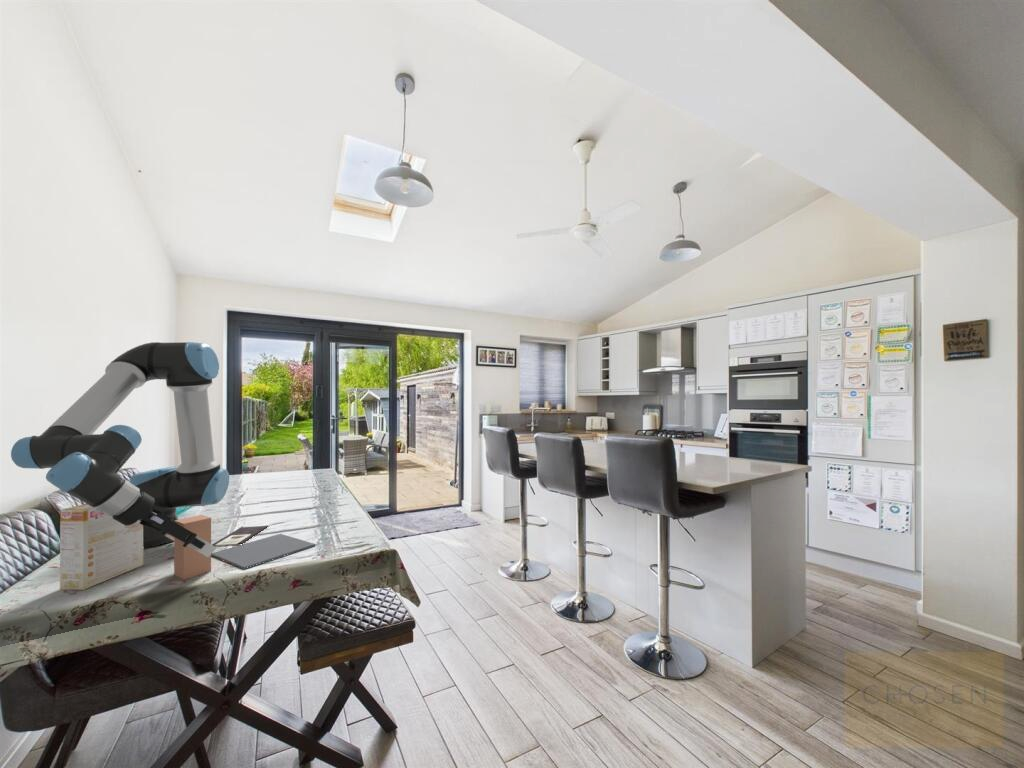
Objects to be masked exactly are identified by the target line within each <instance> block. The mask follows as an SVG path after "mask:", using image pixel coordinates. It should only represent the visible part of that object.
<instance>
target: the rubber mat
mask: <svg viewBox="0 0 1024 768" xmlns="http://www.w3.org/2000/svg"><path fill="white" fill-rule="evenodd" d="M310 547H311V548H314V547H316V543H314V542H310V541H307V540H302V539H299V538H295V537H293V536H290V535H286V534H283V533H279V534H278V533H277V534H275V535H271V536H268V537H264V538H261V539H257V540H254V541H250V542H249V541H248V542H245V543H244V544H242V545H234V546H233V547H230V548H225V549H222V550H219V551H215V552H214V551H213V553H212V554H211V557H213V558H217V560H220V559H221V561H223V560H224V561H223V562H225V561H226V563H228V564H230V563H231V565H232V564H233V566H235V565H236V566H235V567H237V566H239V567H238V568H240V567H242V568H247V567H250V566H253V565H256V564H259V563H263V562H266V561H269V560H272V559H274V558H278V557H281V556H284V555H287V554H290V555H292V554H291V553H293V554H296V553H298V551H299V552H301V550H302V551H305V550H308V549H311V548H310ZM304 549H305V550H304ZM295 552H296V553H295ZM287 556H288V555H287ZM284 557H285V556H284ZM281 558H282V557H281ZM278 559H279V558H278ZM272 561H273V560H272ZM269 562H270V561H269ZM266 563H267V562H266ZM263 564H264V563H263ZM242 568H241V569H242Z"/></svg>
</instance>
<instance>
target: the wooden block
mask: <svg viewBox="0 0 1024 768" xmlns="http://www.w3.org/2000/svg"><path fill="white" fill-rule="evenodd" d="M174 522H175V523H177V524H178V525H180V526H182V527H184V528H185V529H187V530H189V531H191V532H193V533H196V534H197V536H199V537H200V538H202V539H204V540H205V541H207V542H208V543H210V544H212V517H210V516H207V515H205V514H204V515H203V514H199V515H198V514H197V515H195V516H189V517H184V518H180V519H179V518H178V520H174ZM187 538H188V537H187ZM187 538H186V539H187ZM173 542H174V551H173V552H174V553H173V554H174V556H173V557H174V559H173V560H174V562H173V563H174V565H173V566H174V567H173V569H174V571H173V572H174V573H173V575H174V576H176V577H177V578H179V579H181V580H188V579H190V578H194V577H197V576H200V575H203V574H206V573H205V572H207V573H209V572H208V571H210V572H212V556H211V555H210V556H209V557H206V556H204V555H203V554H201V553H199V552H198V551H196V550H194V549H192V548H191V547H189V546H186V547H184V546H183V545H184V542H182V541H180V540H178V539H177V538H175V537H174V541H173ZM202 573H203V574H202ZM199 574H200V575H199ZM196 575H197V576H196Z"/></svg>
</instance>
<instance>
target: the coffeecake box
mask: <svg viewBox="0 0 1024 768" xmlns="http://www.w3.org/2000/svg"><path fill="white" fill-rule="evenodd" d="M96 510H97V509H96V508H94V507H92V506H90V505H88V504H86V503H83V504H78V505H75V506H70V507H67V508H61V509H60V510H59V511H60V513H59V514H60V515H59V516H60V519H59V520H60V522H59V523H60V524H59V525H60V527H59V539H60V540H59V590H64V591H65V590H68V591H69V590H76V591H77V590H78V591H84V590H87V589H89V588H92V587H94V586H96V585H98V584H101V583H103V582H105V581H109V580H111V579H113V578H115V577H118V576H120V575H123V574H125V573H127V572H131V571H133V570H134V569H137V568H140V567H143V566H144V548H143V525H141V524H140V522H141V521H140V520H138V521H137V522H135V523H134V524H132V525H128V526H126V525H123V524H122V523H120V522H118V521H116V520H114V519H113V516H108V515H106V514H104V513H103V512H101V513H99V514H97V513H96V512H95V511H96ZM142 565H143V566H142Z"/></svg>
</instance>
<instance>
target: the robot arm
mask: <svg viewBox="0 0 1024 768" xmlns="http://www.w3.org/2000/svg"><path fill="white" fill-rule="evenodd" d="M219 370H220V362H219V359H218V356H217V354H216V352H215V350H214V349H213V348H212V347H211V346H210V345H208V344H207V343H204V342H193V341H189V342H188V341H187V342H186V341H185V342H156V341H155V342H148V343H147V342H146V343H144V344H143V343H142V344H141V345H137V346H135V347H133V348H131V349H129V350H126V351H125V352H123V353H122V354H120V355H119V356H117V357H116V358H115V359H113V360H112V361H111V362H109V363H108V365H106V367H105V370H104V374H103V375H102V376H101V377H100V378H99V379H98V380H97V381H96V382H95V383H94V384H93V385H92V386H90V388H88V390H86V391H85V392H84V393H83V394H82V395H81V396H80V397H79V398H78V399H77V400H76V401H75V402H74V403H73V404H72V405H71V406H70V407H69V408H67V410H66V411H64V412H63V413H62V415H60V416H59V417H57V419H56V420H55V421H54V422H53V423H52V424H50V426H49V427H48V428H46V430H45V431H43V432H42V433H41V434H40V435H32V436H26V437H23V438H20V439H18V440H17V441H15V443H14V444H13V446H12V447H11V450H10V457H11V460H12V462H13V463H14V464H15V465H16V466H17V467H19V468H23V469H38V470H44V469H49V470H48V471H47V472H46V474H45V479H46V481H47V482H48V483H50V484H51V485H52V486H54V487H55V488H57V489H58V490H60V491H61V492H64V493H66V494H68V495H70V496H71V497H73V498H75V499H78V500H79V501H81V502H83V504H88V505H90V506H92V507H94V508H96V509H97V510H96V511H95V512H96V513H97V514H99V513H101V512H103V513H104V514H106V515H108V516H113V519H114V520H116V521H118V522H120V523H122V524H123V525H126V526H128V525H132V524H134V523H135V522H137V521H138V520H140V521H141V522H140V524H141V525H143V547H148V548H150V547H149V546H153V547H157V546H156V545H158V546H161V545H160V544H162V545H165V544H164V543H166V544H169V542H170V543H173V542H174V537H175V538H177V539H178V540H180V541H182V542H184V545H183V546H184V547H186V546H189V547H191V548H192V549H194V550H196V551H198V552H199V553H201V554H203V555H204V556H206V557H209V556H210V555H211V554H212V553H214V551H216V549H217V547H218V546H216V547H215V546H213V545H212V544H213V543H211V544H210V543H208V542H207V541H205V540H204V539H202V538H200V537H199V536H197V534H196V533H193V532H191V531H189V530H187V529H185V528H184V527H182V526H180V525H178V524H177V523H175V522H174V520H179V517H178V515H177V508H184V507H185V508H186V507H206V506H210V505H211V506H212V505H217V504H218V503H220V502H222V500H223V499H224V498H225V495H226V494H227V491H228V489H229V484H230V473H229V472H228V471H229V470H228V469H226V468H221V463H220V461H219V460H218V459H216V458H215V457H214V454H215V453H214V445H213V444H214V443H213V436H212V426H211V414H210V405H209V394H208V388H209V387H211V385H213V379H216V378H217V377H218V375H219ZM154 380H165V382H166V387H167V388H169V389H170V390H171V391H173V398H174V407H175V417H176V426H177V433H178V444H179V454H180V461H181V462H180V465H179V466H177V467H176V466H168V467H162V468H155V469H151V470H147V471H142V472H137V473H135V474H133V475H131V477H130V478H129V481H128V480H127V479H125V478H123V477H121V476H120V475H119V474H117V473H118V472H119V471H120V470H121V469H122V467H123V466H124V465H125V464H126V463H127V462H128V460H129V459H130V458H131V457H132V456H133V455H134V454H135V453H136V450H137V449H138V448H139V446H140V445H141V443H142V436H141V434H140V432H139V431H138V430H137V429H136V428H133V427H131V426H128V425H124V424H116V425H112V426H110V427H109V428H107V429H105V430H104V431H103V433H100V434H99V433H98V434H95V432H96V431H97V430H98V429H99V427H100V426H101V425H103V423H104V422H105V421H106V420H107V419H108V418H109V417H110V416H111V415H112V414H113V412H115V410H116V409H118V407H119V406H120V405H121V404H122V403H123V402H124V400H125V399H127V397H129V395H130V394H131V393H132V392H133V391H134V390H135V389H138V388H141V387H143V385H145V384H146V382H149V381H154ZM187 537H188V538H187ZM186 538H187V539H186Z"/></svg>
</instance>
